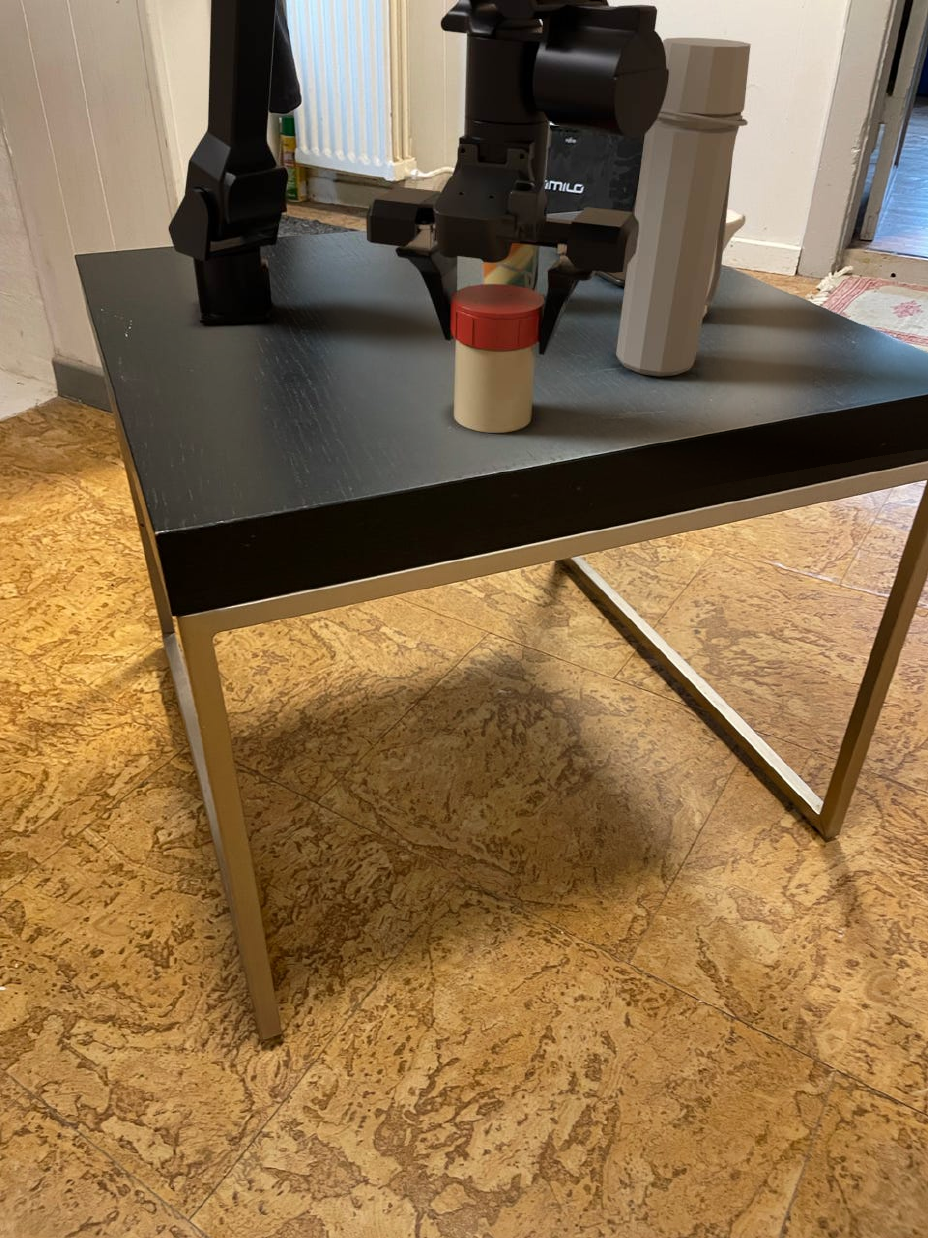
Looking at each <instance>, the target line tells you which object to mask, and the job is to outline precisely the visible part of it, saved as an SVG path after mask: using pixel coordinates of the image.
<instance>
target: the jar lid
mask: <svg viewBox="0 0 928 1238" xmlns="http://www.w3.org/2000/svg"><path fill="white" fill-rule="evenodd" d="M544 308H545V298H544V296H543V295H542V294H541V293H539V292H538V291H537V292H535V291H533V290H530V289H527V288H523V287H519V286H513V285H504V284H482V283H481V284H474V285H470V286H465V287H463V288H460V289H457V291H456V292H455V293H454V294H453V296H452V304H451V327H450V330H452V331H451V333H452V335H453V337H454V338H453V339H454V340H455V341H456V340H458V341H459V342H461V343H463V344H465V345H469V346H472V347H476V348H480V349H489V350H515V349H520V348H525V347H529V346H532V345H534V344H536V343H537V344H538V342H539V336H540V330H541V324H542V319H543V313H544Z"/></svg>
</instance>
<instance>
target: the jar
mask: <svg viewBox="0 0 928 1238" xmlns="http://www.w3.org/2000/svg"><path fill="white" fill-rule="evenodd" d="M454 343H455V349H454V351H455V352H454V384H453V385H454V388H453V389H454V390H453V417H454V420H455V421H456V422H457V424H459V425H460V426H462V427H464V428H466V429H469V430H473V431H475V432H480V433H487V434H488V433H489V434H502V433H504V434H505V433H509V432H515V431H518V430H521V429H523V428H525V427H526V426H527V425H529V424H530V422H531V420H532V412H533V411H532V410H533V399H534V398H533V397H534V385H535V372H536V359H537V358H536V357H537V348H538V347H537V345H538V342H537V343H536V344H534V345H532V346H529V347H525V348H520V349H515V350H489V349H480V348H476V347H472V346H469V345H465V344H463V343H461V342H459V341H458V340H456V339H455V342H454Z"/></svg>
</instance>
